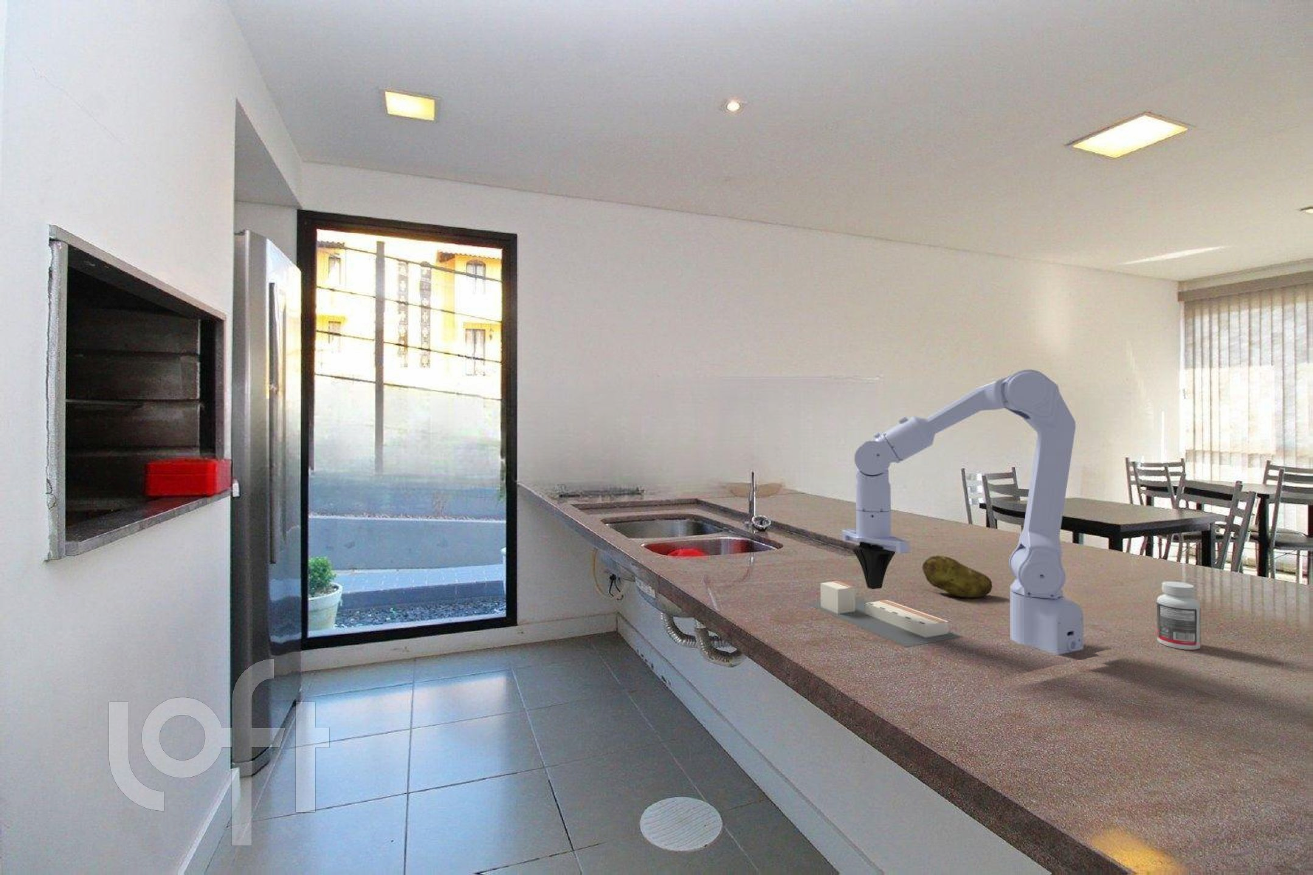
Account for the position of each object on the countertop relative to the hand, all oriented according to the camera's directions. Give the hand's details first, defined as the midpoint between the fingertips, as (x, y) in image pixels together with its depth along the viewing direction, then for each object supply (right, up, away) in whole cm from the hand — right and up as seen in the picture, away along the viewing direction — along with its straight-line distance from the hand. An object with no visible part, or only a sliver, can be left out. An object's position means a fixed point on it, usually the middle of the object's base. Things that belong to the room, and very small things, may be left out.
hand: (874, 587), depth 106 cm
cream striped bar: (+5, -6, 0) cm, 8 cm away
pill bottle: (+46, -7, -8) cm, 47 cm away
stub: (-4, -6, +9) cm, 12 cm away
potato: (+25, -7, +22) cm, 34 cm away
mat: (+2, -7, +3) cm, 8 cm away
